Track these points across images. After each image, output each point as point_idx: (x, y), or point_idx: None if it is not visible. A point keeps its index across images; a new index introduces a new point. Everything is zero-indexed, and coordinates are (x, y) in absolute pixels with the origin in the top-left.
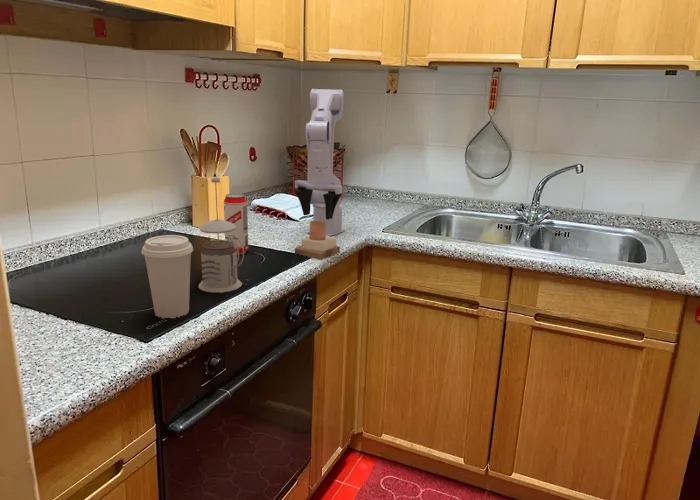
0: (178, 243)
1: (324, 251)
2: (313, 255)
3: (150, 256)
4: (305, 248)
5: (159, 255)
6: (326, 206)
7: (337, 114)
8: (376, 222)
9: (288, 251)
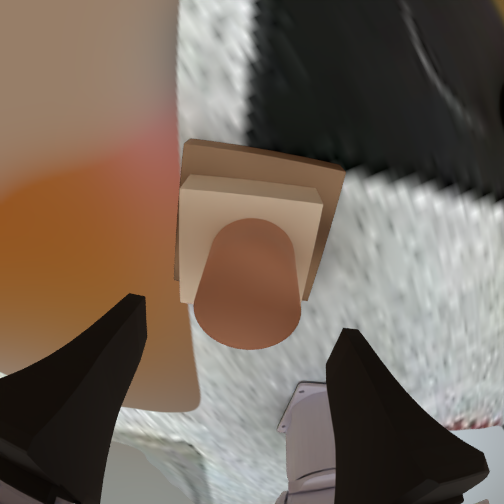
0: None
1: None
2: (231, 146)
3: None
4: (293, 185)
5: None
6: (83, 355)
7: None
8: (240, 475)
9: (377, 187)
